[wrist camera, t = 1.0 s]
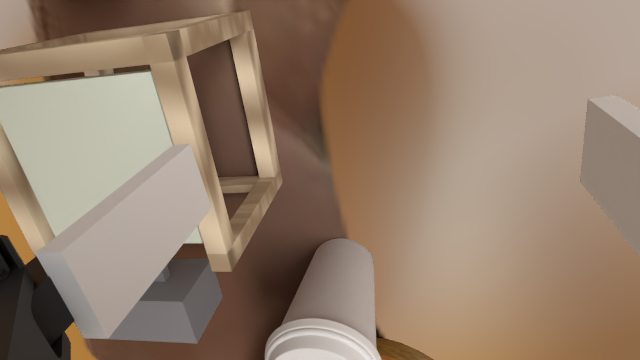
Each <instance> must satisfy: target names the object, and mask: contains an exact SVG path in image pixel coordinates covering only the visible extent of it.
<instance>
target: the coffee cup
mask: <svg viewBox="0 0 640 360" xmlns="http://www.w3.org/2000/svg"><path fill="white" fill-rule="evenodd" d="M265 360H381V357H380V355H379V353H378V351H377V347H376V320H375V288H374V262H373V259H372V256H371V254H370V253H369V251H368V250H367V249H366V248H365V247H364V246H362V245H361V244H359V243H358V242H355V241H353V240H350V239H344V238H337V239H332V240H328V241H326V242H324V243H323V244H321V245H320V246H319V247H318V249H317V250H316V252H315V254H314V256H313V258H312V260H311V263H310V265H309V267H308V269H307V271H306V273H305V275H304V278H303V280H302V282H301V284H300V286H299V288H298V290H297V293H296V295H295V297H294V299H293V301H292V303H291V305H290V307H289V310H288V312H287V314H286V316H285V318H284V320H283V322H282V324H281V326H280V327H279V328H277V329H276V330H275V331H274V332H273V333H272V334H271V336H270V337H269V339H268V341H267V343H266V347H265Z"/></svg>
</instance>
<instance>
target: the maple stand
mask: <svg viewBox="0 0 640 360" xmlns="http://www.w3.org/2000/svg"><path fill="white" fill-rule="evenodd" d="M228 39H230V44H231V48H232V53H233V57H234V62H235V67H236V71H237V76H238V81H239V85H240V90H241V94H242V99H243V104H244V108H245V113H246V118H247V122H248V127H249V132H250V136H251V141H252V145H253V150H254V155H255V159H256V164H257V169H258V173H259V176H240V177H218V176H217V172H216V168H215V164H214V160H213V157H212V153H211V149H210V145H209V141H208V138H207V134H206V130H205V126H204V122H203V119H202V115H201V111H200V107H199V103H198V100H197V96H196V92H195V88H194V84H193V81H192V77H191V73H190V69H189V65H188V62H187V58H186V56H189V55H191V54H194V53H196V52H198V51H201V50H203V49H206V48H208V47H211V46H213V45H216V44H218V43H220V42H223V41H225V40H228ZM148 64H150V67H151V70H152V74H153V77H154V80H155V83H156V87H157V90H158V93H159V97H160V100H161V103H162V107H163V110H164V113H165V117H166V120H167V123H168V127H169V130H170V133H171V136H172V140H173V143H174V146H176V145H184V144H190V145H191V148H192V151H193V154H194V157H195V160H196V163H197V166H198V169H199V172H200V175H201V178H202V181H203V184H204V187H205V189H206V192H207V195H208V198H209V201H210V204H211V207H212V208H211V209H210V211H209V212H208V213H207V214H206V216H205V217H204V218H203V220H202V221H201V222H200V223H199V225H198V226H199V229H200V233H201V236H202V239H203V242H204V246H205V249H206V252H207V256H208V259H209V262H210V266H211V269H212V271H223V272H232V271H233V269H234V267H235V265H236V263H237V262H238V260H239V258H240V256H241V255H242V253H243V251H244V249H245V248H246V246H247V244H248V242H249V241H250V239H251V237H252V235H253V234H254V232H255V230H256V228H257V226H258V225H259V223H260V221H261V219H262V218H263V216H264V214H265V212H266V211H267V209H268V207H269V205H270V204H271V202H272V200H273V198H274V196H275V195H276V193H277V191H278V189H279V188H280V186H281V184H282V182H283V180H282V175H281V170H280V165H279V159H278V154H277V149H276V144H275V138H274V133H273V128H272V123H271V117H270V112H269V107H268V102H267V96H266V91H265V86H264V81H263V75H262V70H261V65H260V60H259V54H258V49H257V44H256V39H255V33H254V28H253V23H252V18H251V12H250V10H246V11H239V12H232V13H224V14H217V15H210V16H202V17H195V18H188V19H181V20H173V21H166V22H159V23H151V24H144V25H137V26H129V27H122V28H115V29H108V30H100V31H93V32H86V33H81V34H76V35H71V36H66V37H61V38H56V39H51V40H47V41H42V42H37V43H32V44H27V45H23V46H17V47H13V48H7V49H3V50H0V81H7V80H14V79H24V78H33V77H42V76H51V75H60V74H68V73H77V72H84V74H85V77H88V76H97V75H106V74H114V71H113V68H121V67H130V66H139V65H148ZM0 190H1V191H2V193H3V195H4V197H5V199H6V201H7V203H8V205H9V207H10V209H11V211H12V213H13V215H14V216H15V218H16V220H17V223H18V224H19V226H20V228H21V230H22V232H23V234H24V236H25V238H26V240H27V242H28V244H29V246H30V248H31V250H32V252H33V253H34V255H35V257H36V254H35V253H36V252H37V251H39V250H40V249H41V248H43V247H44V246H45V245H46V244H48V243H49V242H50V241H51V240H53V239H54V238H55V235H54V233H53V231H52V229H51V227H50V225H49V223H48V221H47V219H46V216H45V214H44V212H43V210H42V208H41V206H40V204H39V202H38V200H37V198H36V196H35V194H34V191H33V189H32V187H31V185H30V183H29V181H28V179H27V177H26V175H25V173H24V171H23V169H22V166H21V164H20V162H19V160H18V158H17V156H16V154H15V152H14V150H13V148H12V146H11V144H10V141H9V139H8V137H7V135H6V133H5V131H4V129H3V127H2V125H1V123H0ZM245 192H249V194H248V195H247V197H246V198H245V200H244V201H243V203H242V204H241V205H240V207H239V208H238V210H237V211H236V213H235V214H234V216H233V217H232V219H231V220H230V221H229V217H228V214H227V210H226V206H225V202H224V198H223V195H222V193H245Z"/></svg>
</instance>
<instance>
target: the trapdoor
mask: <svg viewBox="0 0 640 360" xmlns="http://www.w3.org/2000/svg"><path fill="white" fill-rule="evenodd" d="M0 123H1V125H2V127H3V129H4V131H5V133H6V135H7V137H8V139H9V141H10V144H11V146H12V148H13V150H14V152H15V154H16V156H17V158H18V160H19V162H20V164H21V166H22V169H23V171H24V173H25V175H26V177H27V179H28V181H29V183H30V185H31V187H32V189H33V191H34V194H35V196H36V198H37V200H38V202H39V204H40V206H41V208H42V210H43V212H44V214H45V216H46V219H47V221H48V223H49V225H50V227H51V229H52V231H53V233H54V235H55V237H57V236H58V235H59V234H60V233H62V232H63V231H64V230H65V229H67V228H68V227H69V226H71V225H72V224H73V223H74V222H76V221H77V220H78V219H79V218H81V217H82V216H83V215H85V214H86V213H87V212H88V211H90V210H91V209H92V208H93V207H95V206H96V205H97V204H99V203H100V202H101V201H102V200H104V199H105V198H106V197H107V196H109V195H110V194H111V193H113V192H114V191H115V190H116V189H118V188H119V187H120V186H121V185H123V184H124V183H125V182H127V181H128V180H129V179H130V178H132V177H133V176H134V175H135V174H137V173H138V172H139V171H141V170H142V169H143V168H144V167H146V166H147V165H148V164H149V163H151V162H152V161H153V160H155V159H156V158H157V157H158V156H160V155H161V154H162V153H163V152H165V151H166V150H167V149H169V148H170V147H171V146H174V143H173V140H172V136H171V133H170V130H169V127H168V123H167V120H166V117H165V113H164V110H163V107H162V103H161V100H160V97H159V93H158V90H157V87H156V83H155V80H154V77H153V74H152V70H142V71H133V72H124V73H115V74H106V75H97V76H88V77H79V78H70V79H61V80H51V81H42V82H35V83H34V82H33V83H24V84H15V85H6V86H0ZM184 243H203V239H202V236H201V233H200V229H199V226H197V227H196V228H195V230H194V231H193V232H192V233H191V235H190V236H189V237H188V238H187V240H186V241H185V242H184ZM222 298H223V296H222V292H221V289H220V286H219V282H218V279H217V276H216V272H215V271H212V269H211V266H210V262H209V259H171V260H170V261H169V263H168V264H167V265H166V266H165V268H164V269H163V270H162V271H161V273H160V274H159V275H158V276H157V278H156V279H155V280H154V282H153V283H152V284H151V285H150V287H149V288H148V289H147V290H146V292H145V293H144V294H143V295H142V297H141V298H140V299H139V300H138V302H137V303H136V304H135V306H134V307H133V308H132V309H131V311H130V312H129V313H128V314H127V316H126V317H125V318H124V319H123V321H122V322H121V323H120V325H119V326H118V327H117V328H116V330H115V331H114V332H113V333H112V335H111V336H110V337H109V338H108V339H117V340H138V341H158V342H179V343H198V341H199V339H200V338H201V336H202V334H203V332H204V330H205V328H206V327H207V325H208V323H209V321H210V319H211V318H212V316H213V314H214V312H215V310H216V308H217V307H218V305H219V303H220V301H221V299H222ZM96 339H97V338H96Z"/></svg>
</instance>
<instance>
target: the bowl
mask: <svg viewBox="0 0 640 360" xmlns="http://www.w3.org/2000/svg"><path fill="white" fill-rule="evenodd" d="M376 347H377V351H378V353H379V355H380V357H381V360H433V359H431V358H430V357H428V356H427V355H425V354H423V353H422V352H420V351H418V350H415V349H413V348H411V347H409V346H407V345H404V344H402V343H399V342H395V341H392V340H388V339H384V338H376Z"/></svg>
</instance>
